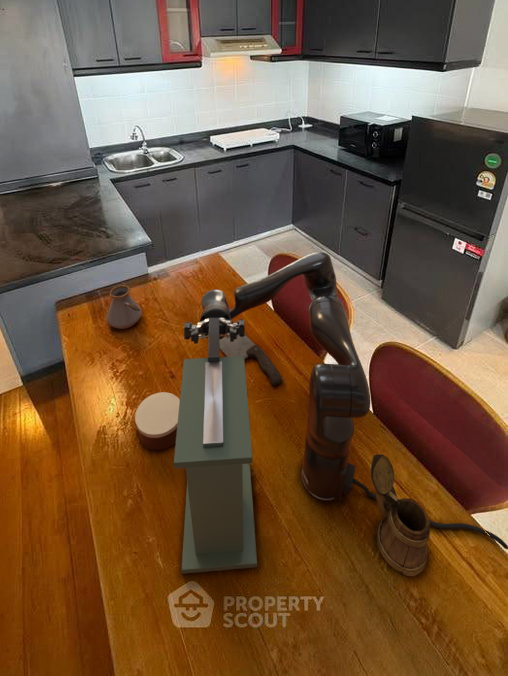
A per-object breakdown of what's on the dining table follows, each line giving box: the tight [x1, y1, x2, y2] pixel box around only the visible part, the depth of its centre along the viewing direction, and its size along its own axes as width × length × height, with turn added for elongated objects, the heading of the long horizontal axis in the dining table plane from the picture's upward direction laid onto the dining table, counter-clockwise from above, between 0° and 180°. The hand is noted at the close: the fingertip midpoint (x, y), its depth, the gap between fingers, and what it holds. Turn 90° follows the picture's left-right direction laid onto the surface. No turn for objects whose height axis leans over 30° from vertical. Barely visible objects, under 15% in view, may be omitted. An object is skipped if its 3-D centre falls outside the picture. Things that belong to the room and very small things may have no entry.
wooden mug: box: [370, 453, 431, 577], centre depth 72 cm, size 9×14×18 cm, turn 41°
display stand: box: [173, 356, 258, 575], centre depth 73 cm, size 21×14×32 cm, turn 4°
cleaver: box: [220, 334, 283, 387], centre depth 117 cm, size 30×10×2 cm, turn 37°
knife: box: [203, 318, 224, 448], centre depth 71 cm, size 27×3×2 cm, turn 4°
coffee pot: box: [106, 284, 144, 330], centre depth 124 cm, size 21×12×15 cm, turn 39°
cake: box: [134, 391, 180, 451], centre depth 94 cm, size 11×11×6 cm
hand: (213, 337), depth 78 cm, fingers open, 7 cm apart
